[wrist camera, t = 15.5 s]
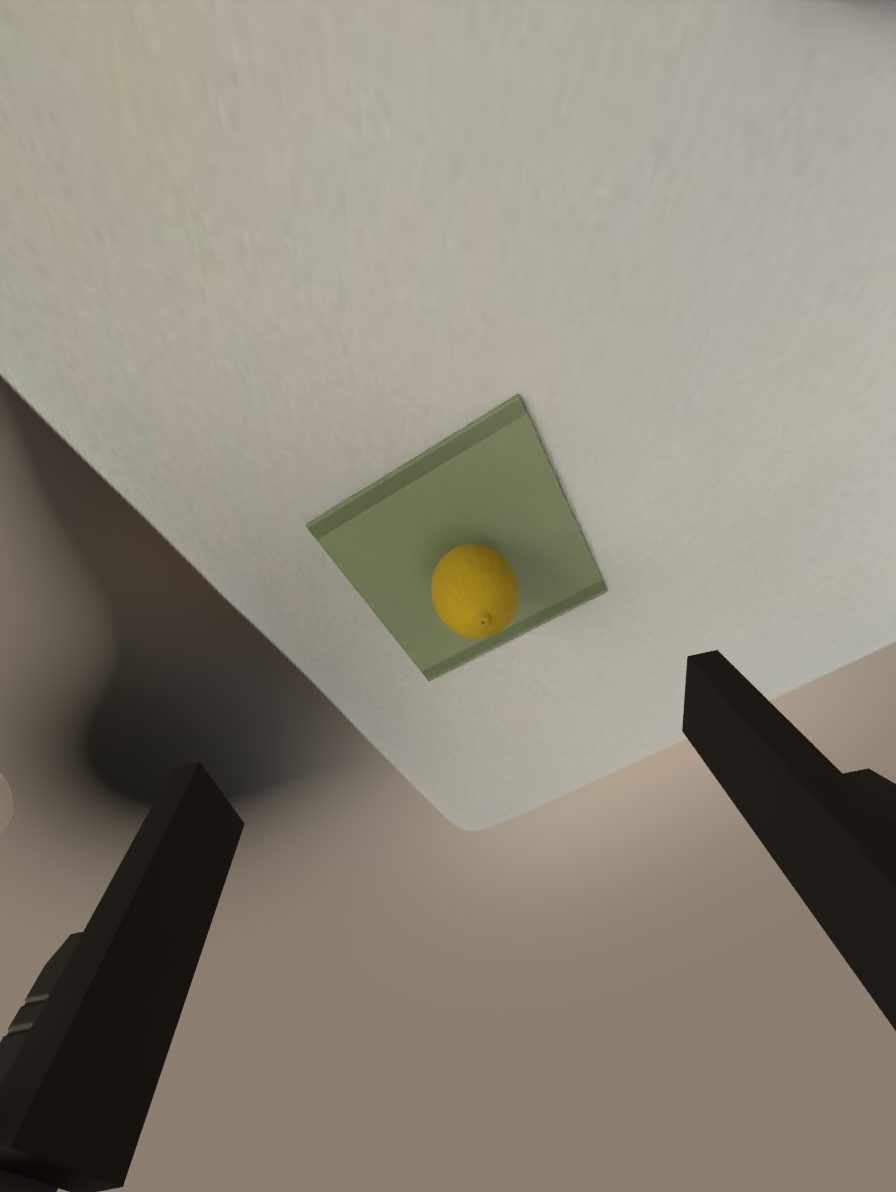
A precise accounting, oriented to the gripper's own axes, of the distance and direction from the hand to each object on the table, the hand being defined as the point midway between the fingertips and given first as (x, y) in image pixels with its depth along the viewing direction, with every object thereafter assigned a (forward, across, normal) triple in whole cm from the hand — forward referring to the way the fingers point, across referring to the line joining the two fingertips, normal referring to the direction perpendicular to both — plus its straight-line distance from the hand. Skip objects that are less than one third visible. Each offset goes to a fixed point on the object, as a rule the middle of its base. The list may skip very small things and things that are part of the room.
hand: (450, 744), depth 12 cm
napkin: (+21, +2, -5) cm, 21 cm away
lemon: (+21, +2, -5) cm, 21 cm away
